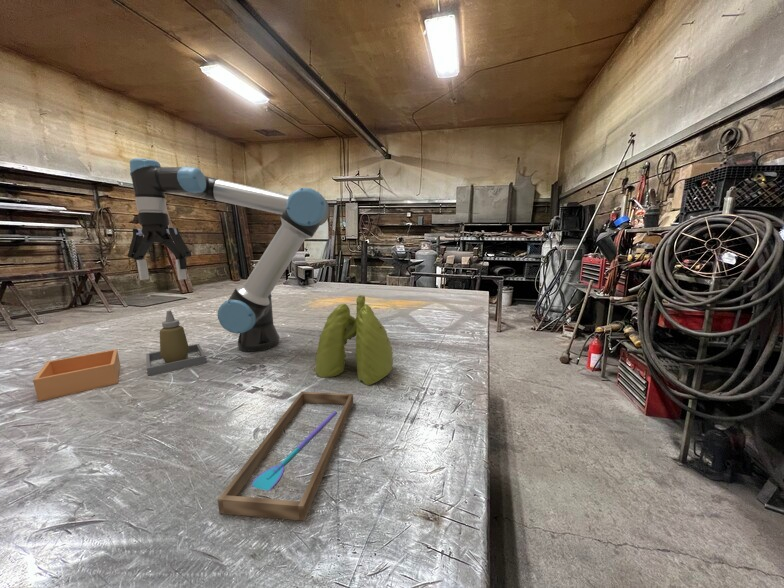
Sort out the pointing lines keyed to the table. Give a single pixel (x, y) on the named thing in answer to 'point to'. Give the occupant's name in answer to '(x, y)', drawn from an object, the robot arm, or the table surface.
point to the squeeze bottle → (173, 340)
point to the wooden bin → (77, 374)
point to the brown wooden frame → (262, 506)
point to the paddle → (274, 473)
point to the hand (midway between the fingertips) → (163, 279)
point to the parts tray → (174, 365)
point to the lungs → (370, 344)
